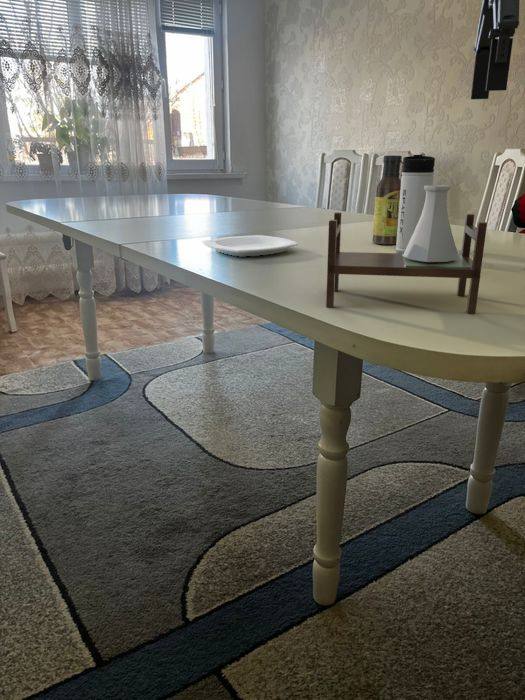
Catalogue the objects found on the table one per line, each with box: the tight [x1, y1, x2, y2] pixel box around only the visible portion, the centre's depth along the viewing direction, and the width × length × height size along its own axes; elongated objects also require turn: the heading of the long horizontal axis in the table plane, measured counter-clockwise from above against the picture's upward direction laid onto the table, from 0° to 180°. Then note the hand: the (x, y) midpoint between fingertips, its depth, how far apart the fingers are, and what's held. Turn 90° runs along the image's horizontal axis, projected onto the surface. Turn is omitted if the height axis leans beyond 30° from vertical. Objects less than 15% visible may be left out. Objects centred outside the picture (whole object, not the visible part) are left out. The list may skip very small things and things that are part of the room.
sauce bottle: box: [372, 154, 403, 245], centre depth 126 cm, size 6×6×20 cm
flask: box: [403, 184, 459, 262], centre depth 75 cm, size 7×7×10 cm
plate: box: [201, 234, 299, 258], centre depth 121 cm, size 19×19×2 cm
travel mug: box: [395, 154, 436, 254], centre depth 111 cm, size 6×7×20 cm
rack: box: [325, 211, 488, 315], centre depth 78 cm, size 20×11×12 cm, turn 79°
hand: (486, 95), depth 84 cm, fingers open, 13 cm apart
